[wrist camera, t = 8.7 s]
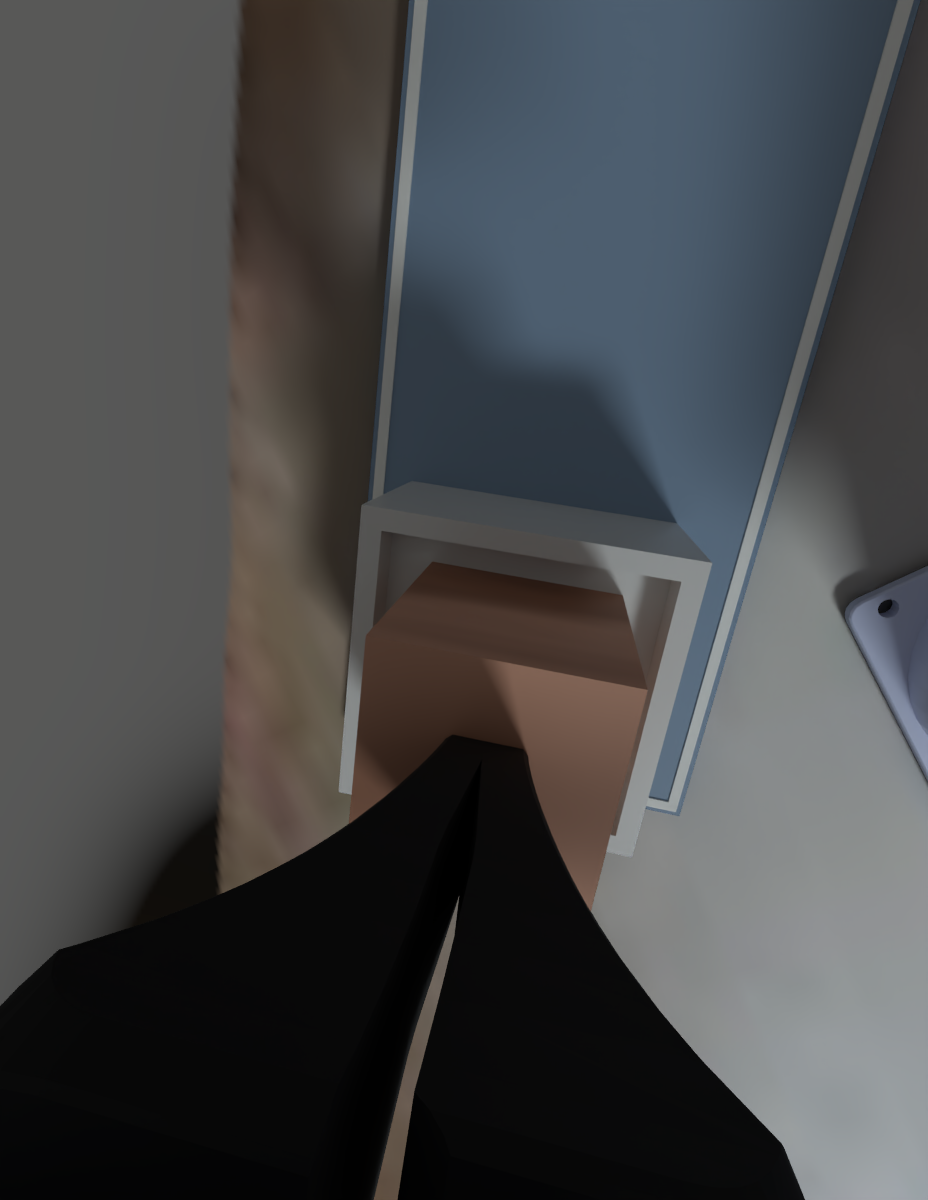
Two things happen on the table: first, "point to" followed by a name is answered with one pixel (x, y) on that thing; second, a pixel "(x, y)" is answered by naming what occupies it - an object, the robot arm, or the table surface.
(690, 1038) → the table surface
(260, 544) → the table surface
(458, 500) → the socket pedestal
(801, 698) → the table surface
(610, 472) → the board
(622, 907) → the table surface
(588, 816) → the terracotta block
